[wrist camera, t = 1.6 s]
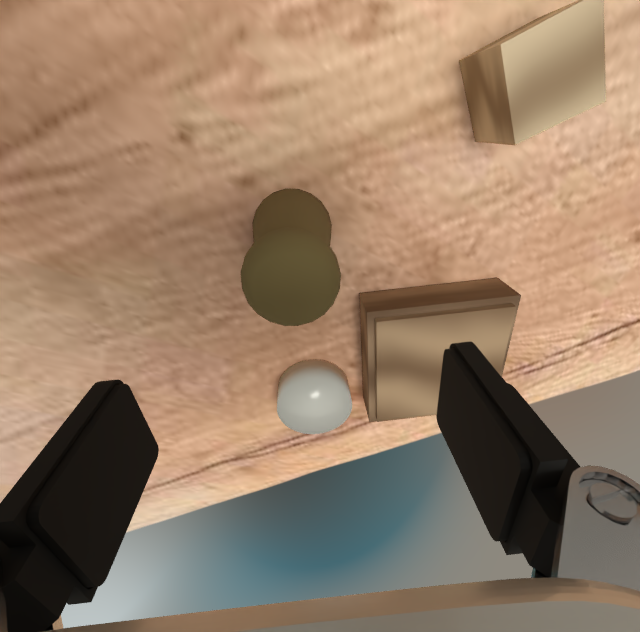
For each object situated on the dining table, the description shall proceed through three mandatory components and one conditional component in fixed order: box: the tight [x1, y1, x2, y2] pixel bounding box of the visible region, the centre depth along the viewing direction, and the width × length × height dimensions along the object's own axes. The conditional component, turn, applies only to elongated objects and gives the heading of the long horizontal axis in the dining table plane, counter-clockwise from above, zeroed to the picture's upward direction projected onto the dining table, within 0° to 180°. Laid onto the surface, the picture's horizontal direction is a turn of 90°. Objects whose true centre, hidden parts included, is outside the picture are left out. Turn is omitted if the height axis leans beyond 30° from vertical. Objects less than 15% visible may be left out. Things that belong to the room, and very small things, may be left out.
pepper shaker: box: [241, 189, 341, 326], centre depth 21 cm, size 6×6×11 cm
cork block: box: [459, 0, 606, 145], centre depth 20 cm, size 5×5×5 cm
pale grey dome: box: [277, 359, 352, 434], centre depth 33 cm, size 7×7×3 cm
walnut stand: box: [360, 278, 521, 422], centre depth 30 cm, size 12×12×4 cm
